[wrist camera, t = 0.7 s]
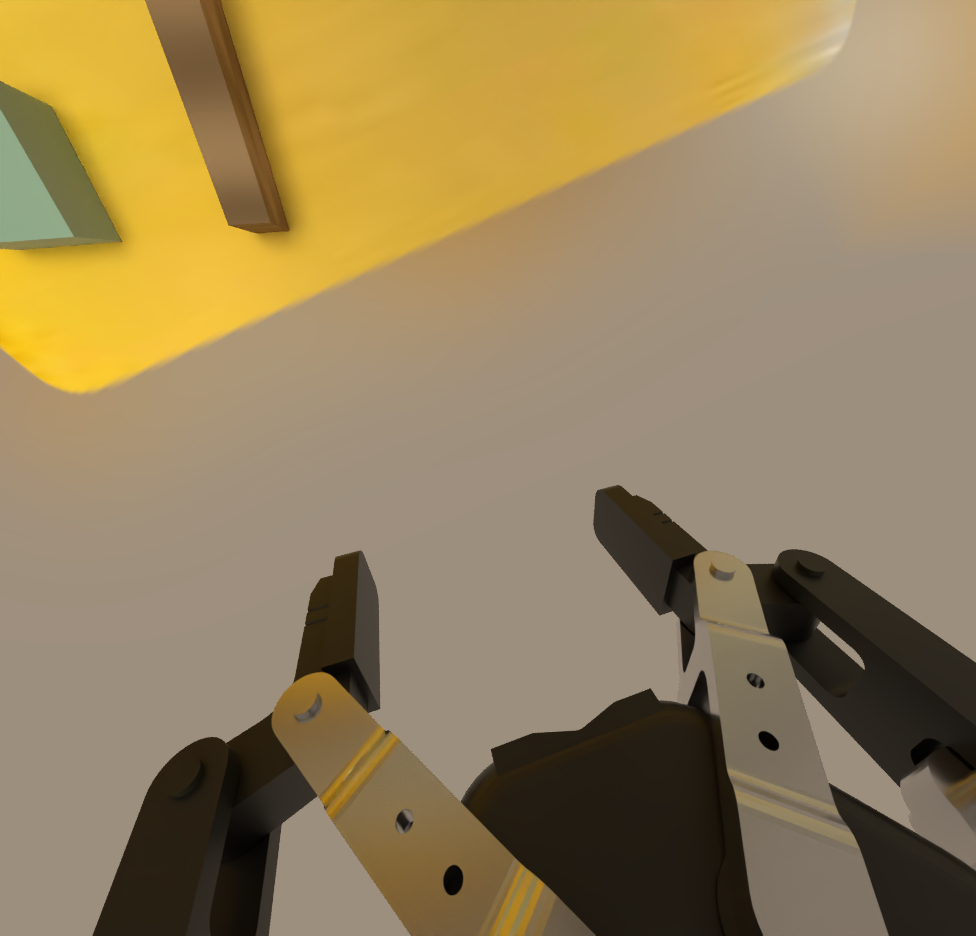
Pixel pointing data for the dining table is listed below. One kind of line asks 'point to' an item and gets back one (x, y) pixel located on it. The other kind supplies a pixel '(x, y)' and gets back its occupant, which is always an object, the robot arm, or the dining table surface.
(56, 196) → the teal block
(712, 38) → the dining table surface
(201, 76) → the walnut board
